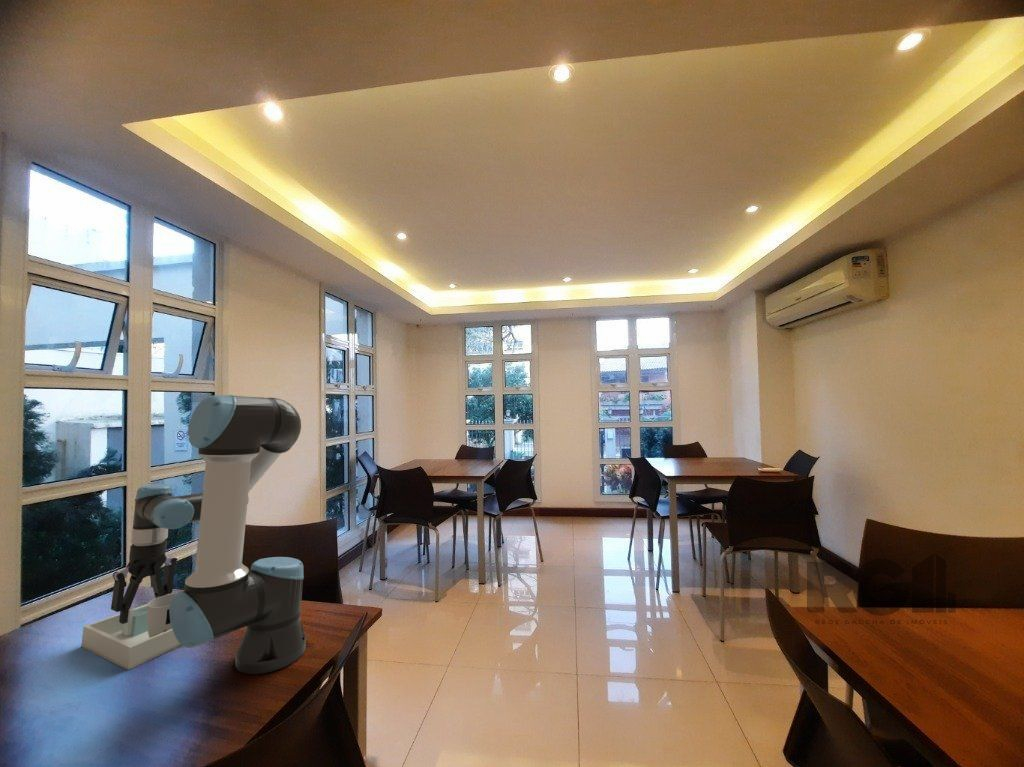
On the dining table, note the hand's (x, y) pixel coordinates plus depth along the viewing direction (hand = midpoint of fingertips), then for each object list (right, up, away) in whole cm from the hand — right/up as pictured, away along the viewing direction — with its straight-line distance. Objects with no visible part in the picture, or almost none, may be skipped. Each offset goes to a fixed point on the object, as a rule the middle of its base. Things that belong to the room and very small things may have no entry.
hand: (139, 628), depth 107 cm
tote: (+6, -1, -2) cm, 6 cm away
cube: (0, 0, 0) cm, 0 cm away
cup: (+10, 0, -4) cm, 11 cm away
